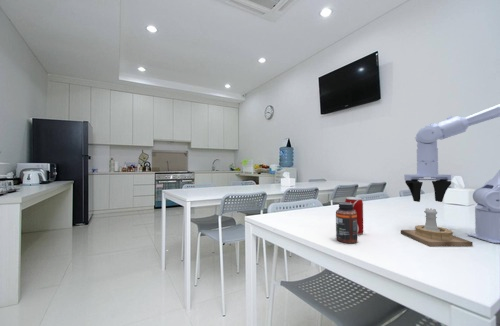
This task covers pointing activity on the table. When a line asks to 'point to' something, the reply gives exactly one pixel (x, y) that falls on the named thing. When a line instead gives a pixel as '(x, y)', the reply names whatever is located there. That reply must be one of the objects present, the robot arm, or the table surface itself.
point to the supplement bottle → (346, 223)
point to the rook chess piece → (431, 220)
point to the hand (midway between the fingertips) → (427, 201)
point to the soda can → (359, 210)
